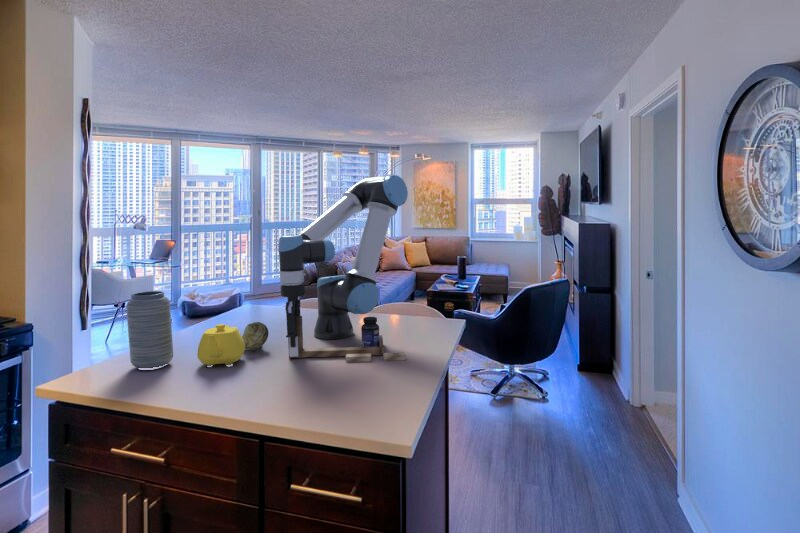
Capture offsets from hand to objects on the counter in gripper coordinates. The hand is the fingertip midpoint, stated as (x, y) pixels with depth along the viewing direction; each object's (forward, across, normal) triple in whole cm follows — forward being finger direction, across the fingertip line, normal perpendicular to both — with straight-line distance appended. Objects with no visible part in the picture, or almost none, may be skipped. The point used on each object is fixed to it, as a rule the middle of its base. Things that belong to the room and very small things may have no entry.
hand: (295, 353), depth 145 cm
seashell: (+1, +11, +16) cm, 19 cm away
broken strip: (+1, -5, -27) cm, 28 cm away
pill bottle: (+1, +6, -25) cm, 25 cm away
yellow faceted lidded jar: (+1, -5, +22) cm, 23 cm away
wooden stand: (+1, +5, -14) cm, 15 cm away
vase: (+1, -5, +43) cm, 43 cm away
